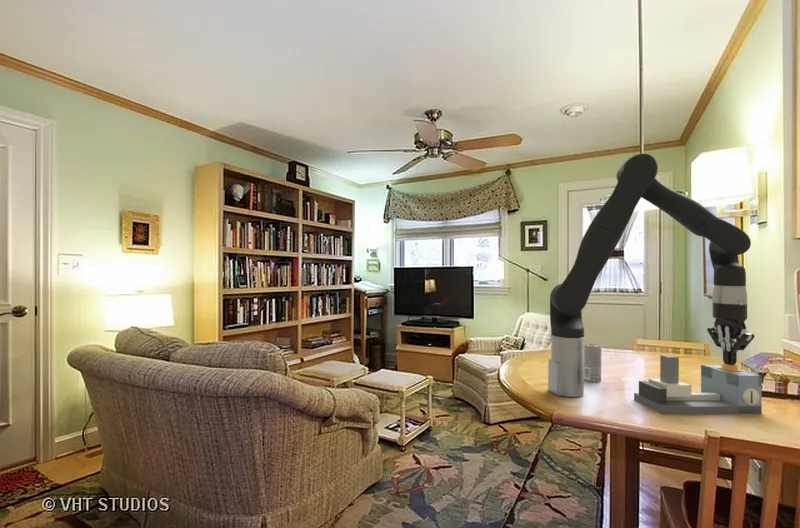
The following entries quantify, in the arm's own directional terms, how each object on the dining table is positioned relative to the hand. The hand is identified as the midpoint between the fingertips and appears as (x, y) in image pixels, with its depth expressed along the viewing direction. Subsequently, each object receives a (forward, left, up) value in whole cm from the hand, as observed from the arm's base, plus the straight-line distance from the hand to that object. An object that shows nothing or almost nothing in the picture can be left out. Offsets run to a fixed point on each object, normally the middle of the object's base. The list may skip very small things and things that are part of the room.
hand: (729, 364), depth 112 cm
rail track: (-10, 0, -12) cm, 16 cm away
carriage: (-18, 0, -8) cm, 19 cm away
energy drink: (-24, +27, -12) cm, 38 cm away
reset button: (0, 0, -5) cm, 5 cm away
